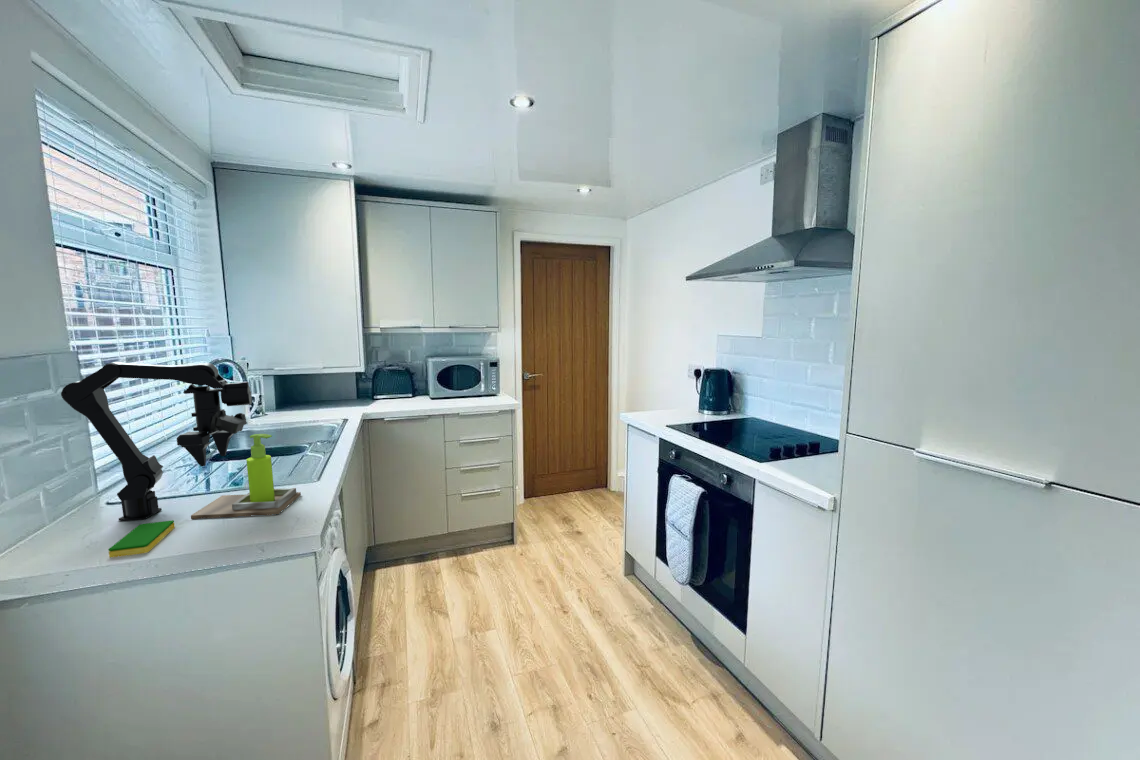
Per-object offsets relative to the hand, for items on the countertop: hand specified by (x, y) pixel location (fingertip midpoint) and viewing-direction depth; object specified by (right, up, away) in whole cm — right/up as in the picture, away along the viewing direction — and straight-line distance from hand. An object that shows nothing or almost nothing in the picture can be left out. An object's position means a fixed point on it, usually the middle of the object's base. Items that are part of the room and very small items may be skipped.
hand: (213, 460), depth 132 cm
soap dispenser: (+14, -12, +1) cm, 18 cm away
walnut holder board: (+10, -13, 0) cm, 17 cm away
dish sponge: (-1, -17, -20) cm, 26 cm away
